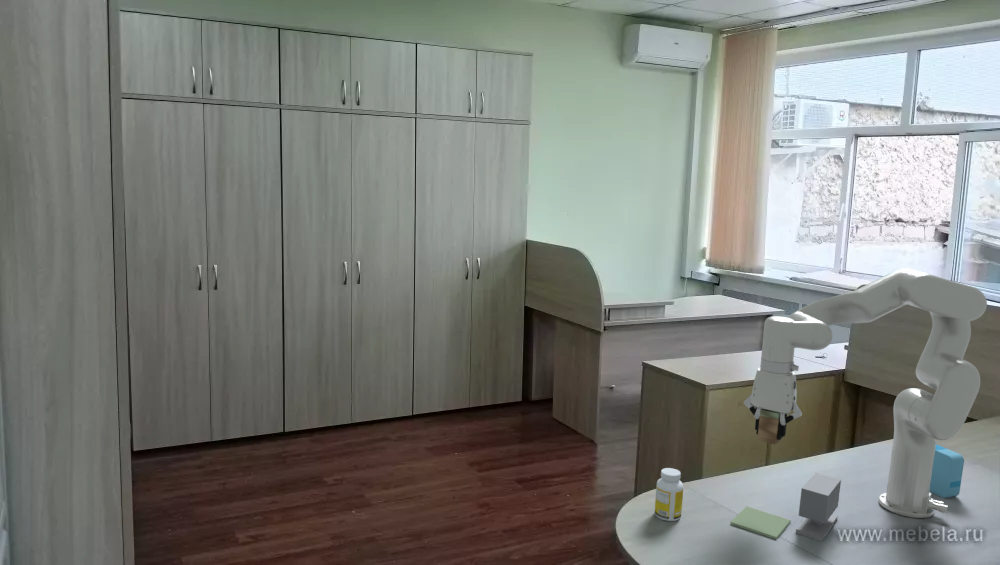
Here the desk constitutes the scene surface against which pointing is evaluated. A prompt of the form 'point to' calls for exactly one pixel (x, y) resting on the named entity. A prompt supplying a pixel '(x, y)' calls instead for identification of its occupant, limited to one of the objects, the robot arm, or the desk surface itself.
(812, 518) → the mounted unit
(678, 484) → the pill bottle
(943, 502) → the robot arm
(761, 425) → the brown and green block
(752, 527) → the mat
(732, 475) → the desk surface
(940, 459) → the data package
